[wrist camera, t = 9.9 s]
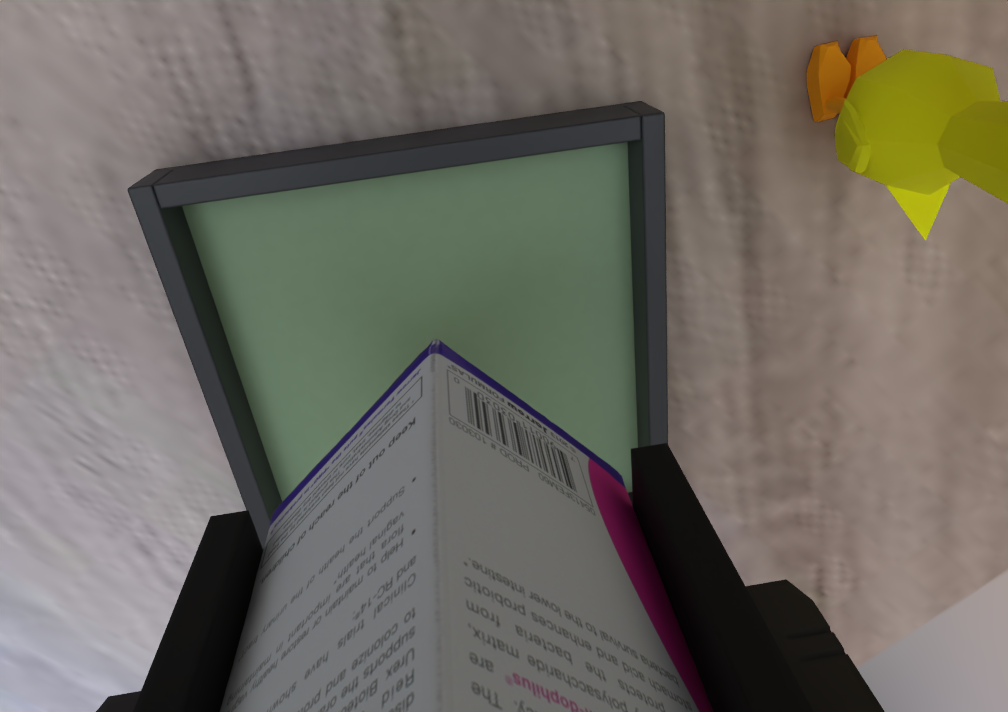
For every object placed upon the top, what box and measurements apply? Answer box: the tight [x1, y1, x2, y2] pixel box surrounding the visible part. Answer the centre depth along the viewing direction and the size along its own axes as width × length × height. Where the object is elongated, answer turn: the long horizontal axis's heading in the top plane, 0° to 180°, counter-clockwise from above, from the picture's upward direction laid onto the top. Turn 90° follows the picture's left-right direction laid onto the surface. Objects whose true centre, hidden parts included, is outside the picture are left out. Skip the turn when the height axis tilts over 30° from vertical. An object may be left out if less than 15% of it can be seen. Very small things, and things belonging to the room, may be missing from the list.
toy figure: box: [807, 35, 1008, 241], centre depth 14 cm, size 7×4×12 cm, turn 9°
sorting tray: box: [128, 101, 668, 550], centre depth 24 cm, size 26×13×2 cm, turn 7°
